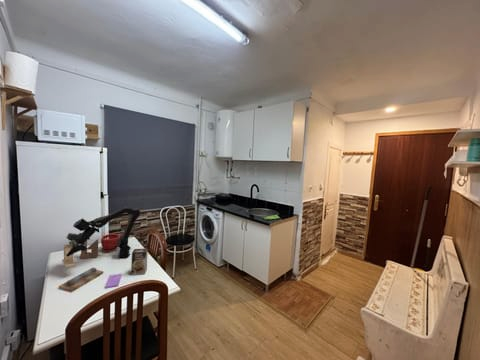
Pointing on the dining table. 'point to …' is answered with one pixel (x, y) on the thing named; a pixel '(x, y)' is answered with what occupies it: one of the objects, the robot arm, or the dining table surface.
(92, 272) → the stand
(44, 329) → the dining table surface
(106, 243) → the plant pot
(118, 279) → the sponges
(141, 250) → the coffee box
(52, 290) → the dining table surface
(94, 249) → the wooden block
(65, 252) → the oak T piece
